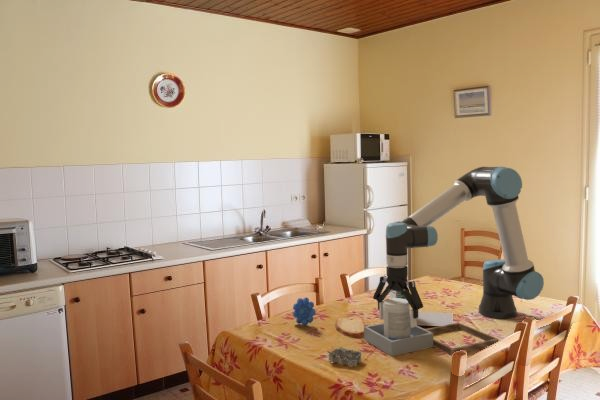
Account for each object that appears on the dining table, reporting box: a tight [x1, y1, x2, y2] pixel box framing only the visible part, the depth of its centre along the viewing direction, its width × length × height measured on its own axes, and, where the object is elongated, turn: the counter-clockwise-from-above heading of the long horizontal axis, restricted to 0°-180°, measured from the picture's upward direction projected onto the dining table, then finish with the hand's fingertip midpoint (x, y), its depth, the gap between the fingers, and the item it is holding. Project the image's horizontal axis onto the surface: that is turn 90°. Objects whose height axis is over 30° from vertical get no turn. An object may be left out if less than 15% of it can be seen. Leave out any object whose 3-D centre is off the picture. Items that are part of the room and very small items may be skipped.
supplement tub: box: [383, 297, 411, 341], centre depth 188 cm, size 10×10×15 cm
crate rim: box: [424, 322, 499, 356], centre depth 189 cm, size 21×21×2 cm
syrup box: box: [389, 289, 406, 299], centre depth 219 cm, size 6×6×14 cm
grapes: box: [292, 297, 316, 326], centre depth 211 cm, size 12×7×12 cm, turn 51°
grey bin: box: [363, 321, 434, 357], centre depth 188 cm, size 18×18×5 cm
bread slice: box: [334, 315, 366, 339], centre depth 205 cm, size 18×18×4 cm
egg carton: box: [326, 346, 363, 368], centre depth 173 cm, size 11×8×4 cm
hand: (397, 322), depth 188 cm, fingers open, 13 cm apart
